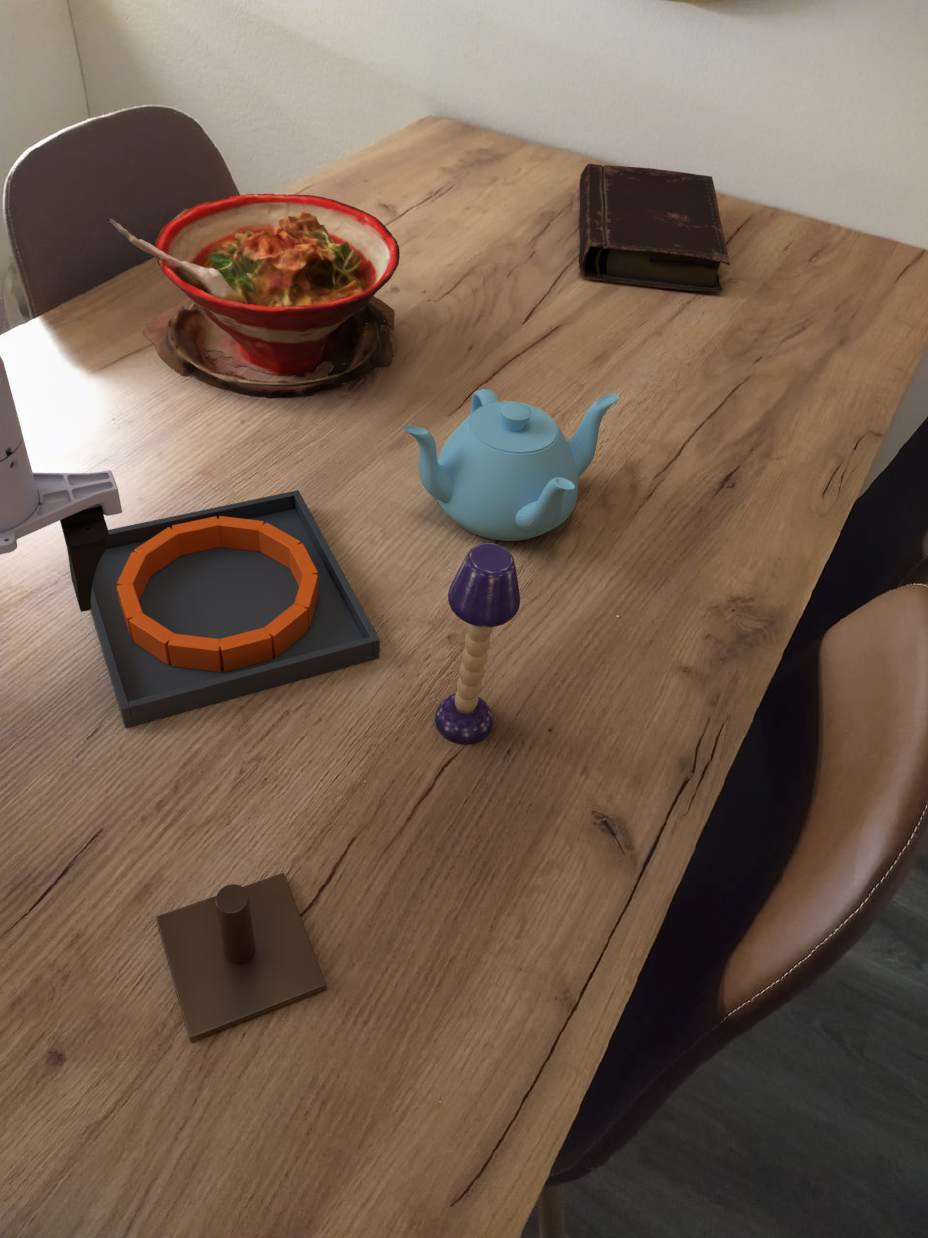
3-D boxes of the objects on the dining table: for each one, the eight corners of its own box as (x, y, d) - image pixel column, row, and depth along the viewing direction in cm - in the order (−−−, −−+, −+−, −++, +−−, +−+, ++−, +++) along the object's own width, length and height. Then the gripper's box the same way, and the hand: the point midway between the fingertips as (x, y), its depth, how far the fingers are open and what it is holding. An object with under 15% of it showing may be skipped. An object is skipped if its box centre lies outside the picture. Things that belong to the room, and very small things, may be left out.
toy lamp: (509, 720, 75) (541, 551, 64) (476, 761, 72) (502, 592, 61) (455, 690, 77) (476, 520, 65) (420, 730, 74) (435, 558, 62)
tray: (125, 728, 72) (120, 710, 70) (74, 556, 84) (69, 537, 82) (379, 657, 79) (380, 639, 77) (299, 507, 90) (298, 489, 89)
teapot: (464, 439, 100) (473, 345, 93) (609, 487, 96) (630, 393, 89) (396, 523, 90) (400, 426, 83) (555, 580, 86) (574, 483, 79)
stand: (190, 1043, 57) (177, 990, 52) (156, 921, 62) (141, 863, 57) (326, 989, 60) (325, 935, 55) (284, 877, 65) (279, 818, 60)
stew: (130, 424, 97) (102, 263, 86) (134, 298, 113) (111, 150, 102) (421, 410, 103) (431, 258, 91) (384, 293, 119) (389, 151, 107)
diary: (576, 280, 125) (583, 240, 122) (576, 196, 143) (582, 159, 139) (726, 298, 125) (738, 259, 122) (708, 212, 143) (718, 176, 140)
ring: (148, 692, 74) (144, 670, 72) (106, 562, 83) (101, 540, 81) (342, 640, 79) (342, 619, 77) (282, 523, 88) (281, 501, 86)
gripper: (-179, 512, 51) (-97, 689, 61) (117, 457, 56) (149, 628, 66) (-183, 434, 56) (-106, 610, 65) (92, 389, 61) (126, 559, 70)
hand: (21, 615), depth 66 cm, fingers open, 7 cm apart
